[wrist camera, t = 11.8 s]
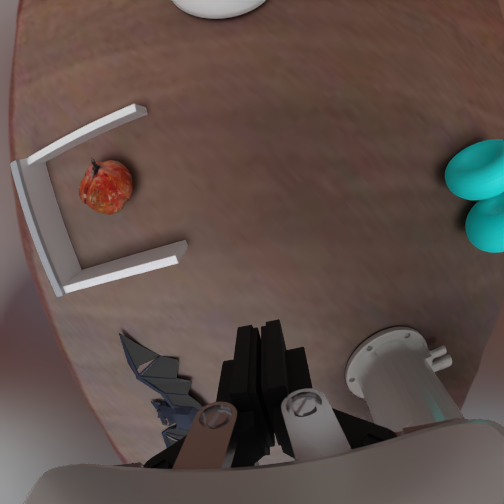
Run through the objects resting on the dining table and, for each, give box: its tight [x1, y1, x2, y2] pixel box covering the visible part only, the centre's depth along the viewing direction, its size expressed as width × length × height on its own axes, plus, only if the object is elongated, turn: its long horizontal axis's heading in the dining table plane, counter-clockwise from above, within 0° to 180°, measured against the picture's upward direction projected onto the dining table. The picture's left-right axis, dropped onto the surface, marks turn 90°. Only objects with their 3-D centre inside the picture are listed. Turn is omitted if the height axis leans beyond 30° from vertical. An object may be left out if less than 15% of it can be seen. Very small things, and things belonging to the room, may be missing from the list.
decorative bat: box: [119, 333, 203, 448], centre depth 40 cm, size 30×4×10 cm
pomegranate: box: [79, 158, 133, 215], centre depth 29 cm, size 6×6×8 cm
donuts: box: [445, 139, 504, 253], centre depth 26 cm, size 10×10×10 cm
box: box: [10, 104, 188, 297], centre depth 29 cm, size 15×16×6 cm
